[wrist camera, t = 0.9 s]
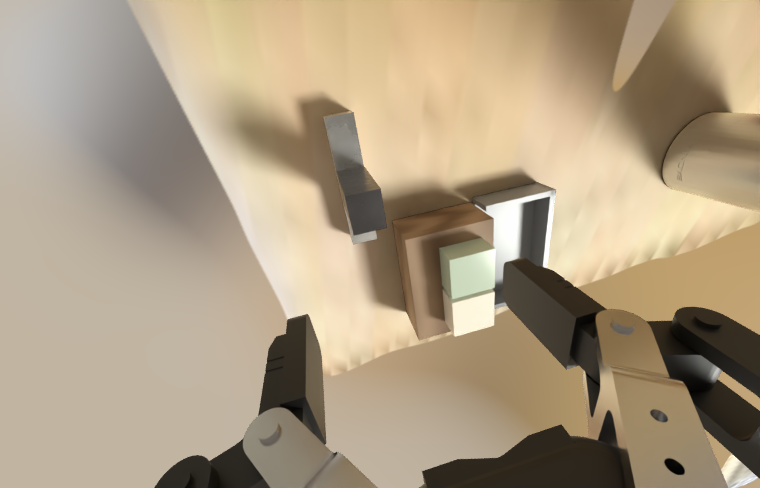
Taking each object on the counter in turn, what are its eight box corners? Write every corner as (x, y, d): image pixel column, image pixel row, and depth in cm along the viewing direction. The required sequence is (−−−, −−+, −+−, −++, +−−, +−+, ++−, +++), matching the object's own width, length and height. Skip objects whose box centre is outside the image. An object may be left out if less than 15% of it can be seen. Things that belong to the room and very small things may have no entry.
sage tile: (481, 237, 30) (495, 248, 28) (482, 274, 32) (494, 287, 30) (439, 248, 30) (449, 260, 28) (442, 285, 32) (451, 299, 30)
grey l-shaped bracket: (349, 110, 27) (368, 118, 19) (372, 229, 33) (395, 278, 24) (322, 115, 27) (328, 126, 18) (350, 234, 33) (365, 285, 24)
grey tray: (537, 182, 35) (556, 189, 32) (529, 282, 41) (544, 295, 38) (472, 197, 34) (486, 206, 31) (474, 297, 40) (485, 311, 38)
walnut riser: (469, 202, 34) (493, 218, 30) (472, 294, 40) (492, 319, 36) (392, 220, 33) (405, 240, 29) (406, 312, 39) (419, 340, 35)
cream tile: (482, 278, 33) (494, 291, 30) (482, 310, 35) (493, 325, 32) (442, 289, 32) (452, 303, 30) (445, 321, 34) (454, 336, 32)
